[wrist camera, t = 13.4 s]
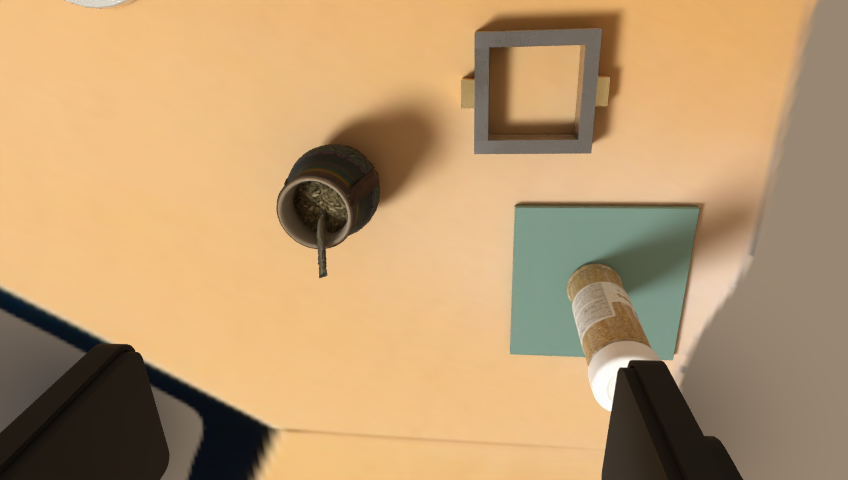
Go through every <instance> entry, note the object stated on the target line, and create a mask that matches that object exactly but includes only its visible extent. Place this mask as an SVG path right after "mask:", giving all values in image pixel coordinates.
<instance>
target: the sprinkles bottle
mask: <svg viewBox="0 0 848 480" xmlns="http://www.w3.org/2000/svg"><path fill="white" fill-rule="evenodd" d="M567 295H568V298H569V300H570V301H571V303H572V310H573V314H574V318H575V322H576V326H577V330H578V334H579V338H580V341H581V345H582V349H583V352H584V354H585V356H586V360H587V364H588V367H589V368H588V377H589V381H590V385H591V388H592V391H593V394H594V396H595V398H596V400H597V401H598V403H599V404H600V405H601V406H602V407H604V408H605V409H606V410H608V411H610V412H611V410H612V404H613V397H614V391H615V384H616V378H617V372H618V369H619V368H620V367H627V366H628V363H629V361H630V360H656V361H661V360H660V358H659V356H658V355H657V353H656V352H655V351H654V350H653V349H652V348H651V346H650V344H649V342H648V339H647V337H646V335H645V333H644V330H643V327H642V325H641V323H640V321H639V318H638V316H637V314H636V312H635V310H634V308H633V306H632V303H631V301H630V299H629V297H628V295H627V293H626V292H625V290H624V288H623V284H622V281H621V278H620V276H619V275H618V273H617V272H616V271H615V270H613V269H612V268H610V267H609V266H607V265H603V264H588V265H584V266H582V267H580V268H579V269H577V270H576V271H575V272H574V273H573V274H572V275H571V276H570V278H569V279H568V283H567Z"/></svg>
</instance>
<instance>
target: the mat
mask: <svg viewBox="0 0 848 480" xmlns="http://www.w3.org/2000/svg"><path fill="white" fill-rule="evenodd" d="M698 215H699V208H698V207H697V206H559V205H515V223H514V252H513V281H512V310H511V339H510V354H518V355H545V356H572V357H586V356H585V354H584V352H583V349H582V345H581V341H580V338H579V334H578V330H577V326H576V322H575V318H574V314H573V310H572V303H571V301H570V300H569V298H568V295H567V283H568V279H569V278H570V276H571V275H572V274H573V273H574V272H575V271H576V270H577V269H579V268H580V267H582V266H584V265H588V264H603V265H607V266H609V267H610V268H612V269H613V270H615V271H616V272H617V273H618V275H619V276H620V278H621V281H622V284H623V288H624V290H625V292H626V293H627V295H628V297H629V299H630V301H631V303H632V306H633V308H634V310H635V312H636V314H637V316H638V318H639V321H640V323H641V325H642V327H643V330H644V333H645V335H646V337H647V339H648V342H649V344H650V346H651V348H652V349H653V350H654V351H655V352H656V353H657V355H658V356H659V358H660V360H673V356H674V351H675V345H676V339H677V334H678V328H679V322H680V317H681V311H682V305H683V300H684V294H685V288H686V283H687V277H688V271H689V266H690V260H691V254H692V249H693V243H694V237H695V232H696V226H697V220H698Z"/></svg>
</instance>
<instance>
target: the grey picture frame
mask: <svg viewBox="0 0 848 480" xmlns="http://www.w3.org/2000/svg"><path fill="white" fill-rule="evenodd" d="M601 37H602V28H567V29H536V30H504V31H475V78H462V79H461V108H475V118H474V154H558V153H591V149H592V138H593V127H594V116H595V106H608V96H609V86H610V77H609V76H607V75H598V71H599V60H600V49H601ZM560 45H581V51H580V64H579V78H578V91H577V104H576V117H575V130H574V134H524V135H488V103H489V47H525V46H560Z"/></svg>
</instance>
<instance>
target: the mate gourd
mask: <svg viewBox="0 0 848 480" xmlns="http://www.w3.org/2000/svg"><path fill="white" fill-rule="evenodd" d="M374 168H375V167H374V166H373V164H371V163H370V161H368V160H367V159H366V157H364V156H363V155H362V154H361V153H360V152H359V151H357V150H355V149H353V148H352V147H348V146H343V145H325V146H320V147H317V148H314V149H312V150H310V151H308V152H307V153H305V154H304V155H303V156H302V157H301V158H299V159H298V161H297V162H296V163H295V164H294V166H293V168H292V170H291V172H290V174H289V176H288V178H287V179H286V181H285V183H284V185H285V186H284V187H283V189H282V190H281V191H280V193H279V196H278V199H277V215H278V219H279V221H280V223H281V226H282V227H283V229H284V230H285V232H286V233H287V234H288V235H289V236H290V237H291V238H293V239H294V240H295V241H296V242H298V243H300V244H301V245H304V246H306V247H309V248H313V249H319V250H318V255H319V256H318V261H319V262H318V265H320V266H319V278H322V277H325V276H327V270H326V250H325V249H326V248H331V247H334V246H336V245H338V244H340V243H341V242H343V241H344V240H345V239H346V238H347V236H349V235H351V234H353V233H356V232H358V231H359V230H360V229H362V228H363V227H364V226H365V225H366V224H367V223H368V222H369V221H370V219H371V218H372V216H373V215H374V213H375V211H376V209H377V206H378V203H379V194H380V192H379V191H380V189H379V178H378V173H377V172H376V171H375V169H374Z"/></svg>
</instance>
